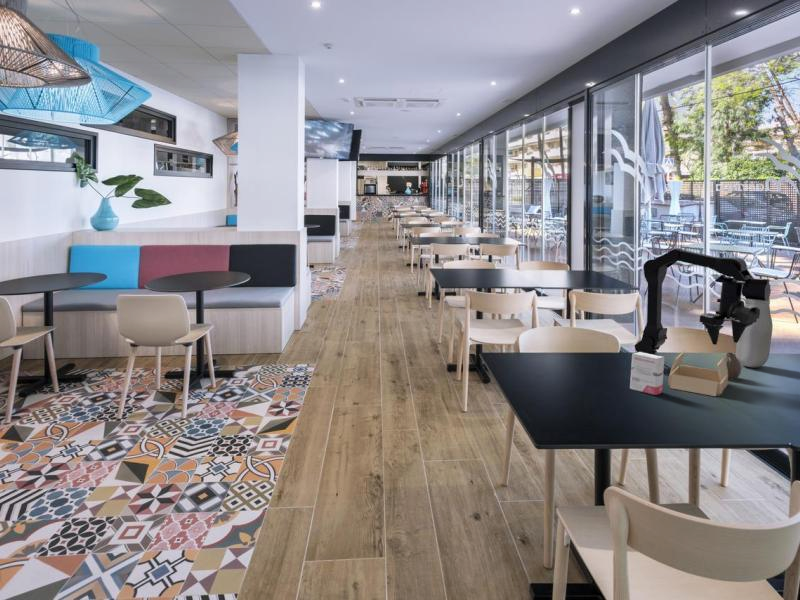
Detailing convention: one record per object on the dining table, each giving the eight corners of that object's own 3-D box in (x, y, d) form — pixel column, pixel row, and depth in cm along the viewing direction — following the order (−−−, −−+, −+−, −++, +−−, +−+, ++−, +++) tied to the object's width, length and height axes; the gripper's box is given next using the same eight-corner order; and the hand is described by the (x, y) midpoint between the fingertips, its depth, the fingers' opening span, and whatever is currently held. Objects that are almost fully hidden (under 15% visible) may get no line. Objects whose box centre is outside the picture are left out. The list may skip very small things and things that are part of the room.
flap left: (679, 364, 188) (685, 351, 186) (671, 372, 178) (677, 358, 177) (678, 364, 188) (683, 351, 186) (669, 372, 179) (675, 358, 177)
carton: (666, 387, 178) (667, 374, 177) (678, 375, 191) (679, 363, 190) (719, 397, 168) (720, 383, 168) (728, 384, 182) (729, 371, 181)
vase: (743, 381, 184) (746, 356, 183) (721, 380, 186) (723, 355, 184) (735, 375, 191) (738, 351, 189) (713, 374, 192) (716, 350, 191)
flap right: (720, 380, 170) (716, 365, 170) (726, 372, 179) (723, 357, 179) (721, 380, 170) (718, 364, 170) (728, 371, 179) (724, 356, 179)
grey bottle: (748, 362, 208) (755, 289, 204) (773, 369, 199) (782, 293, 194) (728, 364, 205) (735, 290, 201) (753, 371, 196) (761, 294, 191)
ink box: (663, 392, 173) (666, 356, 171) (655, 395, 170) (658, 358, 168) (636, 385, 180) (639, 350, 178) (629, 388, 177) (631, 353, 175)
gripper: (731, 302, 168) (725, 351, 170) (775, 299, 174) (769, 347, 176) (700, 296, 178) (695, 343, 181) (743, 294, 184) (737, 339, 187)
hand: (725, 343), depth 181 cm, fingers open, 9 cm apart
